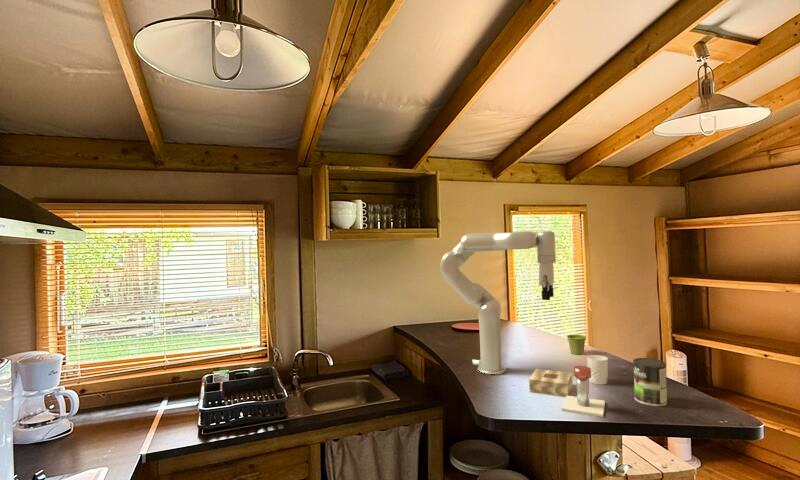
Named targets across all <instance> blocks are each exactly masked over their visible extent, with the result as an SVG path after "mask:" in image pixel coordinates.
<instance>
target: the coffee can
mask: <svg viewBox="0 0 800 480" xmlns="http://www.w3.org/2000/svg"><path fill="white" fill-rule="evenodd" d="M632 363H633V381H634V382H633V385H634V389H633V390H634V391H633V393H634V401H635V402H637V403H639V404H643V405H645V406H651V407H652V406H653V407H664V406H666V405H667V404H668V396H667V395H668V393H667V387H668V386H667V362H665V361H663V360H660V359H655V358H651V357H650V358H649V357H638V358H634V359H632Z"/></svg>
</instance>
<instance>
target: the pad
mask: <svg viewBox="0 0 800 480" xmlns="http://www.w3.org/2000/svg"><path fill="white" fill-rule="evenodd" d="M589 402H590V406H587V407H583V406H579V405H578V404H577V396H572V395H569V396H567V395H566V397H564V401H563V404H562V406H561V407H560V408H561V411H562V412H569V413H575V414H580V415H582V414H583V415H588V416H593V417H601V418H604V413H605V406H606V405H605V404H606V400H603V399H602V400H601V399H596V398H595V399H594V398H589Z"/></svg>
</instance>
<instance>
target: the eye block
mask: <svg viewBox="0 0 800 480" xmlns="http://www.w3.org/2000/svg"><path fill="white" fill-rule="evenodd" d="M528 384H529V392H530V393H535V394H544V395H549V396H550V395H551V396H556V397H564V398H566V395H567V396H570V393H571V390H572V387H573V373H572V372H570V371H569V372H567V371H560V370H559V371H557V370H549V369H540V368H535V370H534V371H533V372H532V374H531V375H530V377H529V379H528Z"/></svg>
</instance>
